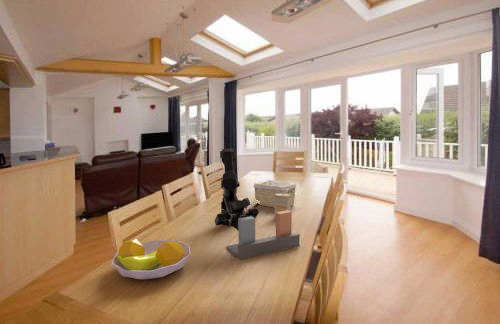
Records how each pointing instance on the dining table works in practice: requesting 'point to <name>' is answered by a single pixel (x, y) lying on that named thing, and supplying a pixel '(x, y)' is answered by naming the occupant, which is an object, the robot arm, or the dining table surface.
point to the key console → (264, 246)
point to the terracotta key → (283, 223)
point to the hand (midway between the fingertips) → (243, 234)
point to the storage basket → (273, 191)
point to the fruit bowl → (150, 258)
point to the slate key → (246, 230)
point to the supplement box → (282, 202)
